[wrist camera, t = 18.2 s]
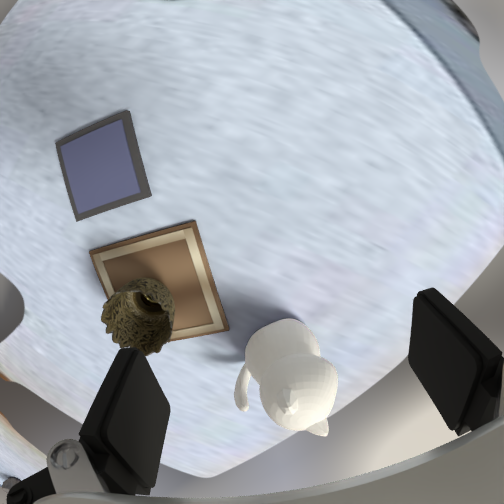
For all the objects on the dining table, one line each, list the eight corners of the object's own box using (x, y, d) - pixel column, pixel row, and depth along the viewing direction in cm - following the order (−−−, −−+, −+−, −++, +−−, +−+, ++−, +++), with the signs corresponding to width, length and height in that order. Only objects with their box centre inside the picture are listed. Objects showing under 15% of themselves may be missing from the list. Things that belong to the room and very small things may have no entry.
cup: (157, 328, 37) (141, 367, 30) (115, 287, 35) (88, 320, 28) (198, 293, 36) (187, 330, 28) (152, 249, 34) (129, 276, 26)
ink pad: (59, 142, 30) (53, 143, 29) (129, 111, 30) (125, 110, 28) (80, 219, 33) (75, 222, 32) (151, 195, 33) (148, 197, 32)
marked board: (90, 250, 34) (88, 252, 34) (195, 220, 34) (194, 222, 33) (131, 345, 39) (129, 348, 38) (229, 328, 38) (229, 331, 37)
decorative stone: (34, 488, 61) (11, 472, 58) (29, 502, 54) (5, 486, 51) (25, 491, 64) (4, 476, 61) (21, 503, 57) (-1, 488, 54)
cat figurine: (333, 338, 39) (368, 421, 25) (260, 386, 41) (265, 473, 27) (292, 293, 37) (318, 375, 22) (216, 349, 39) (205, 438, 25)
